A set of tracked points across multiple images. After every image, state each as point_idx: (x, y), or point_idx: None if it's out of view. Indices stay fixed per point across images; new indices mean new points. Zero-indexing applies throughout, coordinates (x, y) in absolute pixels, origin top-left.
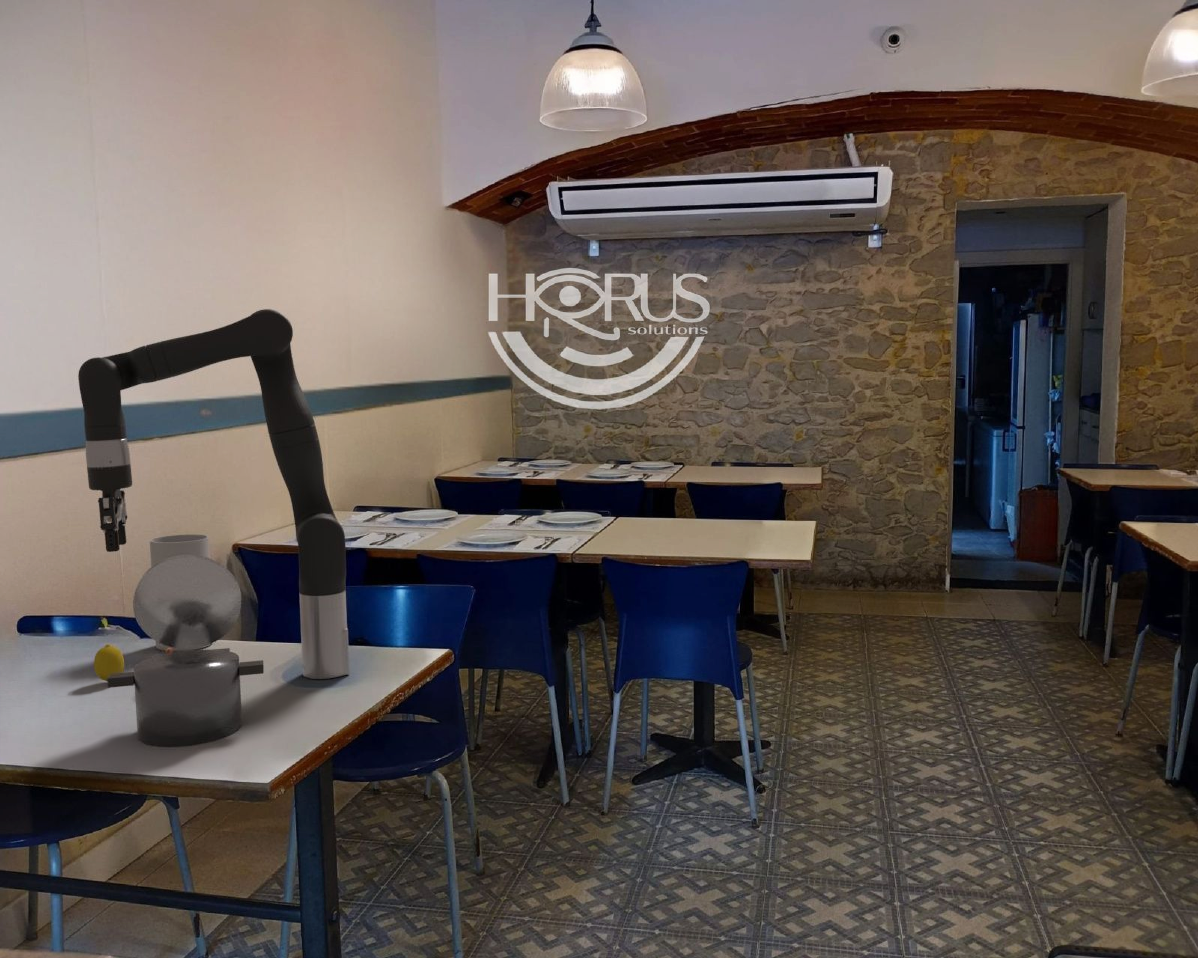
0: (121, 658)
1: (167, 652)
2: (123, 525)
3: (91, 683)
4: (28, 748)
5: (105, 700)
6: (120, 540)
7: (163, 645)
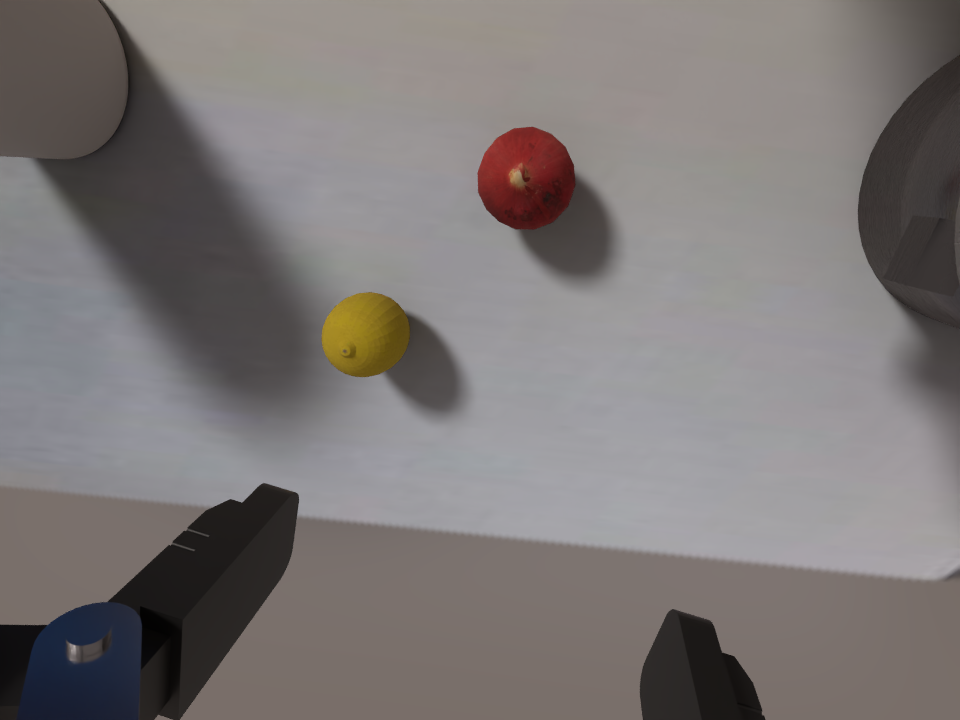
0: (381, 306)
1: (528, 182)
2: (158, 622)
3: None
4: (846, 539)
5: (551, 351)
6: (278, 546)
7: (98, 140)
